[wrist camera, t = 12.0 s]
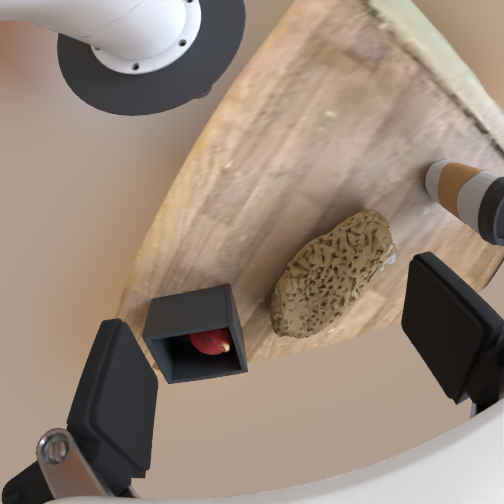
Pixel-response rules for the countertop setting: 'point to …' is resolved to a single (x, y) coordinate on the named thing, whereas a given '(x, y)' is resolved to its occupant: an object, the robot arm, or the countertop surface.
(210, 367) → the waste bin
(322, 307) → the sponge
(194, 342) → the onion
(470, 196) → the coffee cup
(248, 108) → the countertop surface
